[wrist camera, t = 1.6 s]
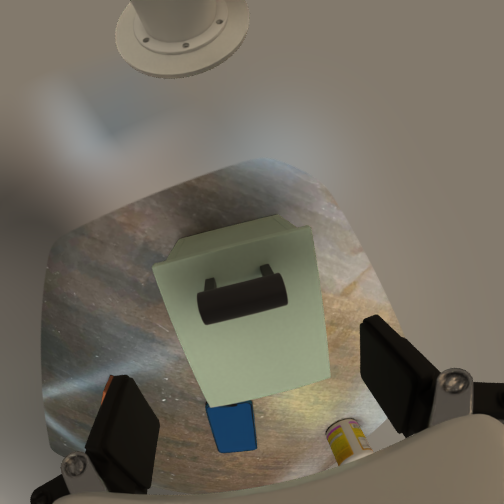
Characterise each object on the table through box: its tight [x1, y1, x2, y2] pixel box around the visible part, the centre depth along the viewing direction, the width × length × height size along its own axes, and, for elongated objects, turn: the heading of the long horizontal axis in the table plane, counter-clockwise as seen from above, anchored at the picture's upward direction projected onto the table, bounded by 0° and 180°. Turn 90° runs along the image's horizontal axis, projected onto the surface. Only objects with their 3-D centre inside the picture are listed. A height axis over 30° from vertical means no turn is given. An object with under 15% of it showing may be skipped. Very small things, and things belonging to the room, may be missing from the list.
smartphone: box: [205, 400, 257, 453], centre depth 40 cm, size 7×1×15 cm
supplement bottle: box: [326, 419, 374, 466], centre depth 39 cm, size 7×7×13 cm
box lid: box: [152, 225, 331, 408], centre depth 20 cm, size 15×12×6 cm
